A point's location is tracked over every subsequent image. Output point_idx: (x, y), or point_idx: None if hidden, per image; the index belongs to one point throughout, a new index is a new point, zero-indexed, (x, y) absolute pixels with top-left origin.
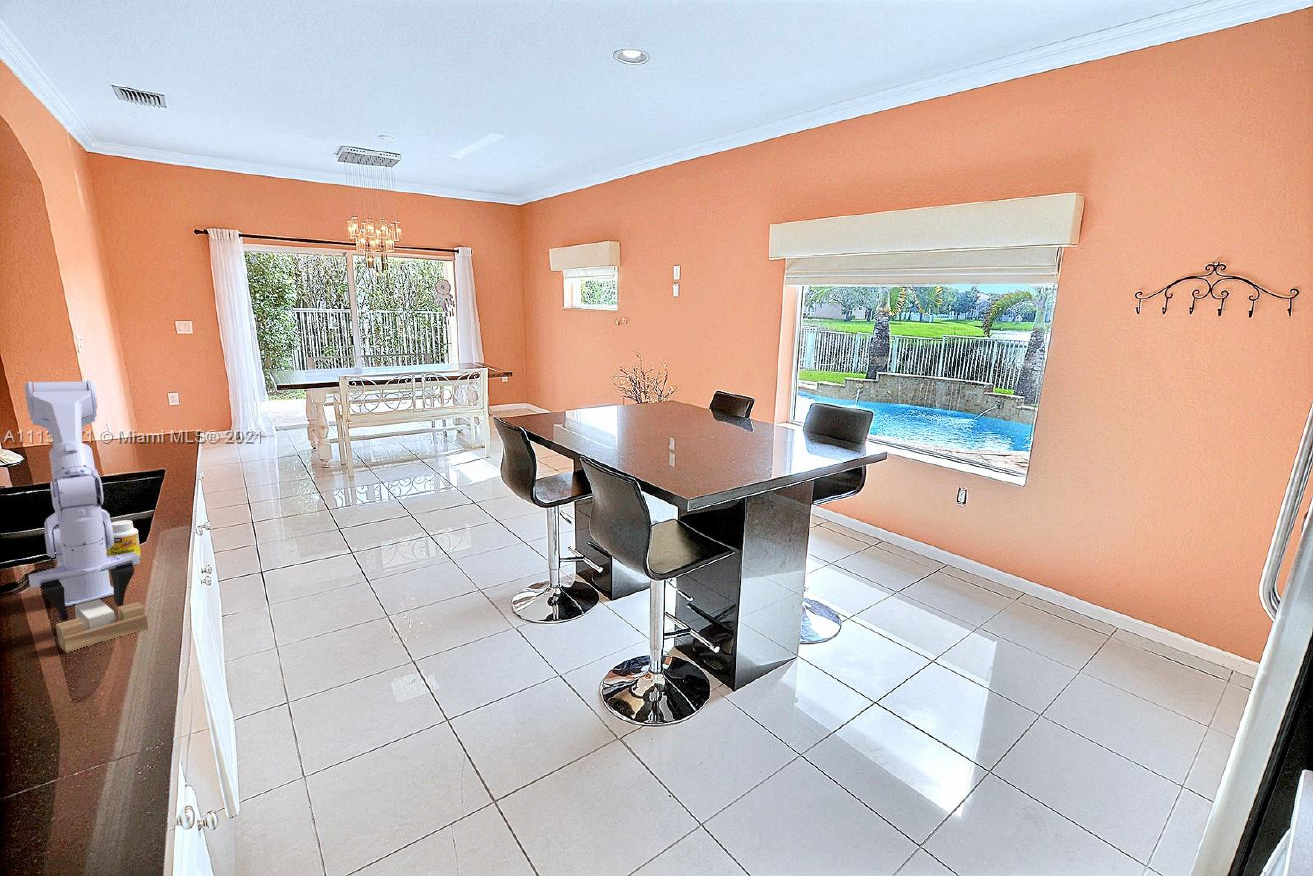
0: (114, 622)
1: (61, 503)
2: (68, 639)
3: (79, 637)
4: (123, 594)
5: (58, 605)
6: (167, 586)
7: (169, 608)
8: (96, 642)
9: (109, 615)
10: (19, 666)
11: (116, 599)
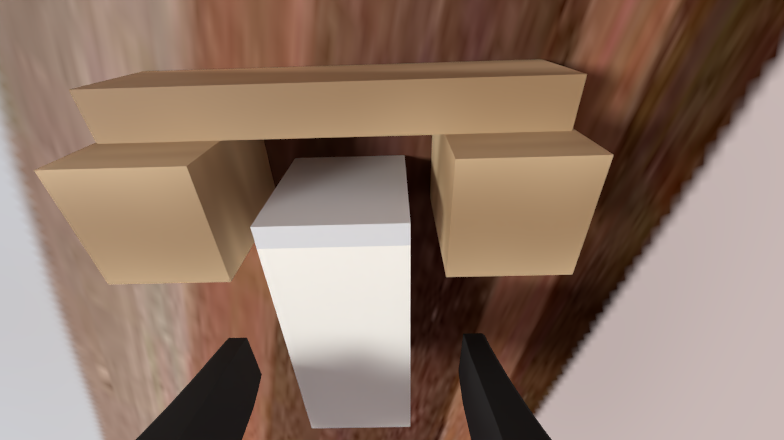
0: (282, 185)
1: None
2: (559, 74)
3: (494, 72)
4: (181, 398)
5: (537, 435)
6: (137, 431)
7: (84, 267)
8: (399, 65)
9: (287, 215)
10: (736, 68)
11: (241, 387)
